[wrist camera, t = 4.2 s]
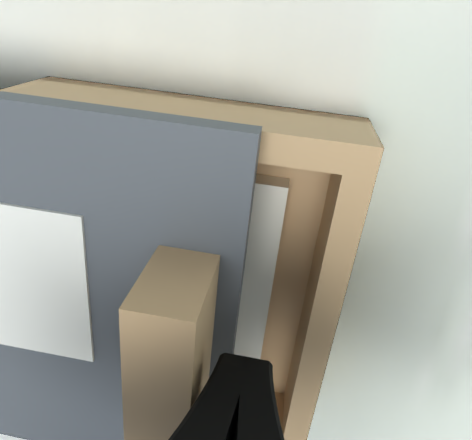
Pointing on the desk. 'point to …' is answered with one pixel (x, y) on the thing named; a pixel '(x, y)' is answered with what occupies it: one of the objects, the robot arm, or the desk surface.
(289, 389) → the kraft box
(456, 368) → the desk surface
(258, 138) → the lid
